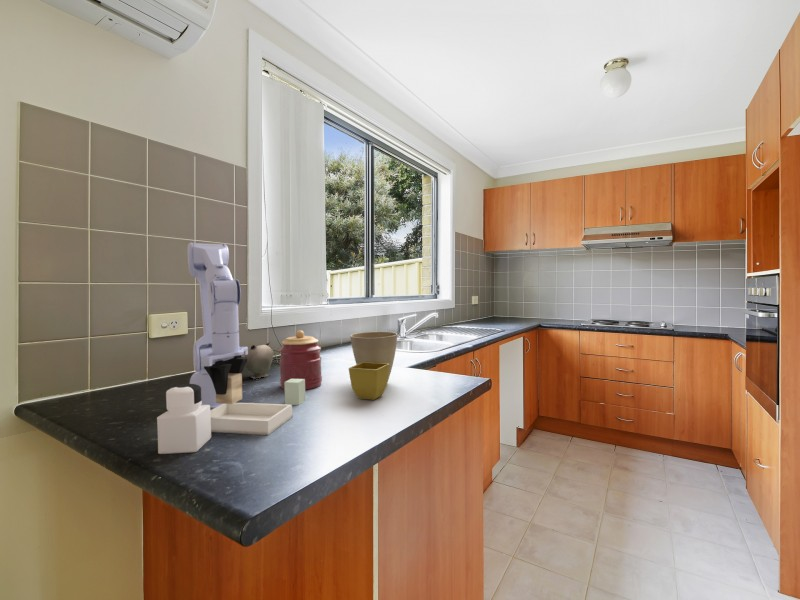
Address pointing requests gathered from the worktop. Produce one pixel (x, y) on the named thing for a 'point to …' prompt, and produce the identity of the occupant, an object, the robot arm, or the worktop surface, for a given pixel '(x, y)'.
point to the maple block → (231, 390)
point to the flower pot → (369, 379)
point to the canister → (300, 360)
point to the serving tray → (249, 418)
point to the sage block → (294, 391)
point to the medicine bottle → (183, 421)
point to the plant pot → (374, 347)
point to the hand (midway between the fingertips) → (227, 391)
